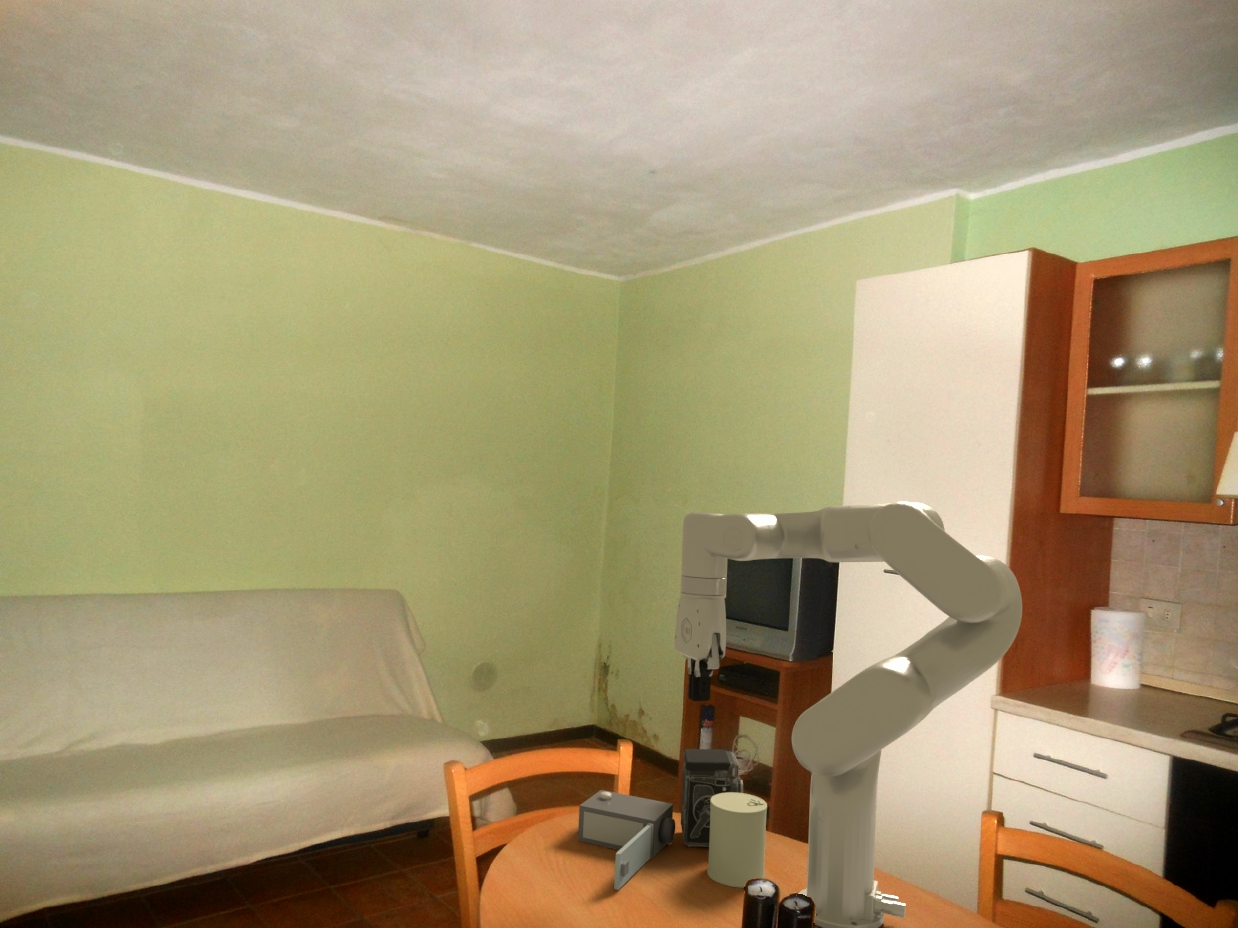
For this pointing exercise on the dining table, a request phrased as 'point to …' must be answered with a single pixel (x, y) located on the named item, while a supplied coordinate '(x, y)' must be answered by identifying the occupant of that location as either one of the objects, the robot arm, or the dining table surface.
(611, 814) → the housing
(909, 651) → the robot arm
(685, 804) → the camera
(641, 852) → the side door
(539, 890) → the dining table surface
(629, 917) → the dining table surface
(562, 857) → the dining table surface
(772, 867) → the dining table surface
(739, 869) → the can
